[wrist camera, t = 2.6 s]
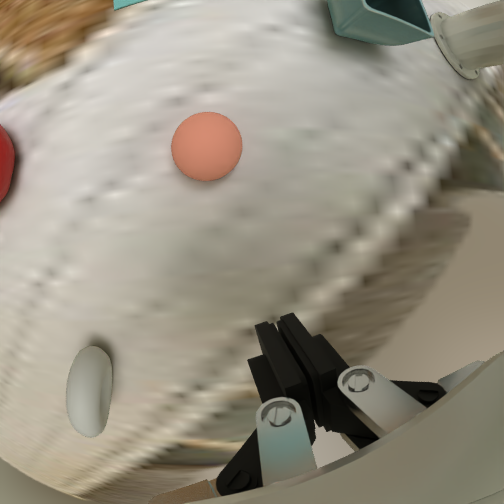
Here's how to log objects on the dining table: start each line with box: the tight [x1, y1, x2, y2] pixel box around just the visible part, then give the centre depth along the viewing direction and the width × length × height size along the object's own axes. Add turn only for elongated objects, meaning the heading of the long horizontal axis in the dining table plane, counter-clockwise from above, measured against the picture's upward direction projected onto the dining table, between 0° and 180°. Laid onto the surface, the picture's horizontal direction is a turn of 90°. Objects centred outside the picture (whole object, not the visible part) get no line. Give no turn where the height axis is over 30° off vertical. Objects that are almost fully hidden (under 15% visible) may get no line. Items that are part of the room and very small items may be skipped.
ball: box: [171, 112, 242, 181], centre depth 20 cm, size 6×6×6 cm
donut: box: [66, 346, 112, 438], centre depth 21 cm, size 10×4×10 cm, turn 165°
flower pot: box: [327, 0, 435, 46], centre depth 17 cm, size 9×9×9 cm
